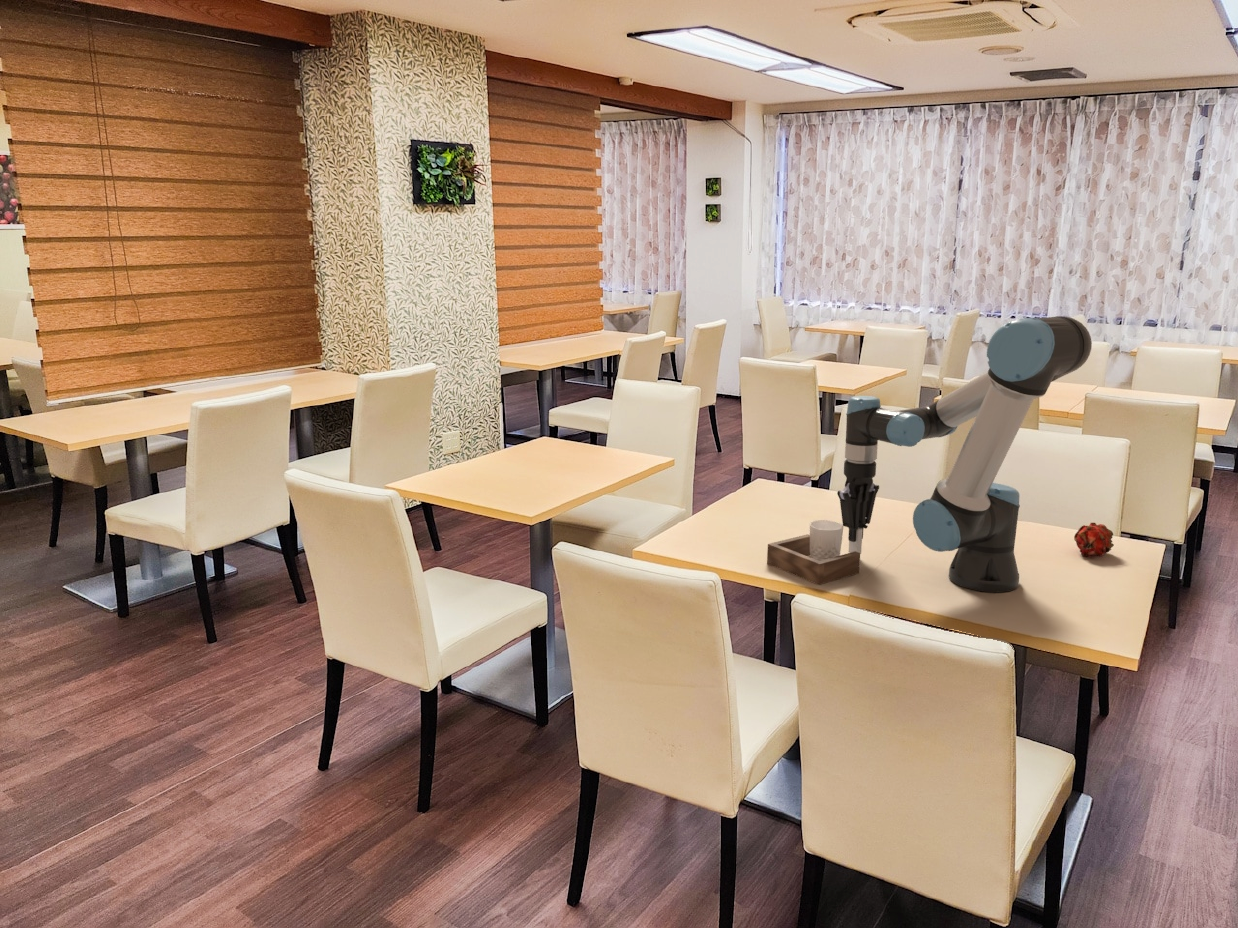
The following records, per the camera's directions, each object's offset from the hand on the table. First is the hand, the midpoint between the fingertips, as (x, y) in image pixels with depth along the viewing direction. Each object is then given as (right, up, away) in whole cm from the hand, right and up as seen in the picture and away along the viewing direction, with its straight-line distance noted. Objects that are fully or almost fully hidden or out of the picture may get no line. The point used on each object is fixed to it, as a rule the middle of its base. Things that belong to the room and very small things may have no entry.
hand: (854, 552), depth 230 cm
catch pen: (-11, -3, -7) cm, 14 cm away
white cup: (-9, -3, -5) cm, 10 cm away
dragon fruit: (+60, -1, +3) cm, 60 cm away
